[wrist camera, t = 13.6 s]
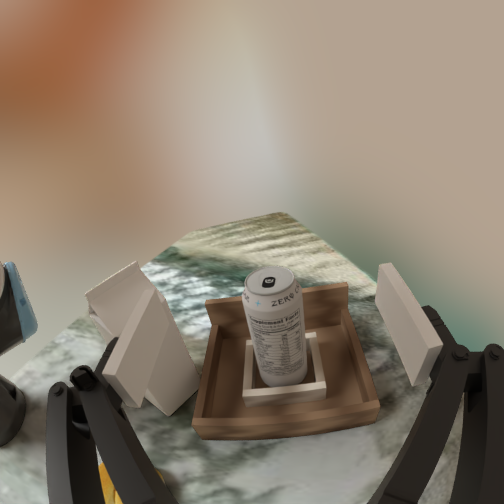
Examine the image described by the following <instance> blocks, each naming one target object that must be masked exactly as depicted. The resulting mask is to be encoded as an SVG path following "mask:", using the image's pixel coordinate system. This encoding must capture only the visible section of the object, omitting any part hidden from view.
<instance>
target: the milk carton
mask: <svg viewBox="0 0 504 504" xmlns="http://www.w3.org/2000/svg"><path fill="white" fill-rule="evenodd" d="M150 289H156V291H157V294H158V296H159V299H160V301H161V304H162V306H163V309H164V311H165V314H166V316H167V319H168V321H169V326H168V329H167V331H166V334H165V337H164V340H163V342H162V345H161V348H160V351H159V354H158V356H157V359H156V362H155V365H154V368H153V371H152V374H151V377H150V380H149V383H148V386H147V389H146V392H145V395H144V397H145V398H146V399H147V400H149V401H150V402H151V403H152V404H153V405H155V406H156V407H157V408H158V409H159V410H161V411H162V412H163V413H164V414H166V415H167V416H170V415H171V414H173V413H174V412H175V411H176V410H177V409H178V408H179V407H180V406H181V405H182V404H183V403H184V402H185V401H186V400H187V399H188V398H189V397H190V396H191V395H193V394H194V393H195V392H196V391H197V390H198V389H199V384H200V379H201V378H200V376H199V374H198V372H197V370H196V368H195V365H194V363H193V361H192V359H191V357H190V355H189V353H188V350H187V348H186V346H185V344H184V341H183V339H182V337H181V335H180V332H179V330H178V328H177V325H176V323H175V321H174V318H173V316H172V314H171V311H170V309H169V306H168V304H167V301H166V299H165V297H164V296H163V295H162V294H161V293H160V292H159V291H158V290H157V288H156V287H155V286H154V285H153V284H152V283H151V282H150V280H149V279H148V278H147V277H146V276H145V275H144V273H143V272H142V271H141V270H140V268H139V265H138V263H137V261H135V262H133V263H131V264H130V265H128V266H127V267H125V268H123V269H122V270H120V271H118V272H117V273H115V274H114V275H112V276H111V277H109V278H107V279H106V280H104V281H103V282H101V283H100V284H98V285H97V286H95V287H93V288H92V289H90V290H89V291H87V292H86V293H84V295H85V297H86V299H87V301H88V304H89V315H90V316H91V318H92V320H93V322H94V324H95V325H96V327H97V329H98V331H99V332H100V334H101V336H102V337H103V339H104V341H105V342H106V344H107V346H108V344H109V342H110V341H111V340H112V339H113V338H114V337H120V335H121V333H122V331H123V329H124V327H125V326H126V324H127V322H128V320H129V318H130V316H131V314H132V312H133V310H134V309H135V307H136V305H137V303H138V301H139V299H140V298H141V296H142V294H143V292H144V290H150Z"/></svg>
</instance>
